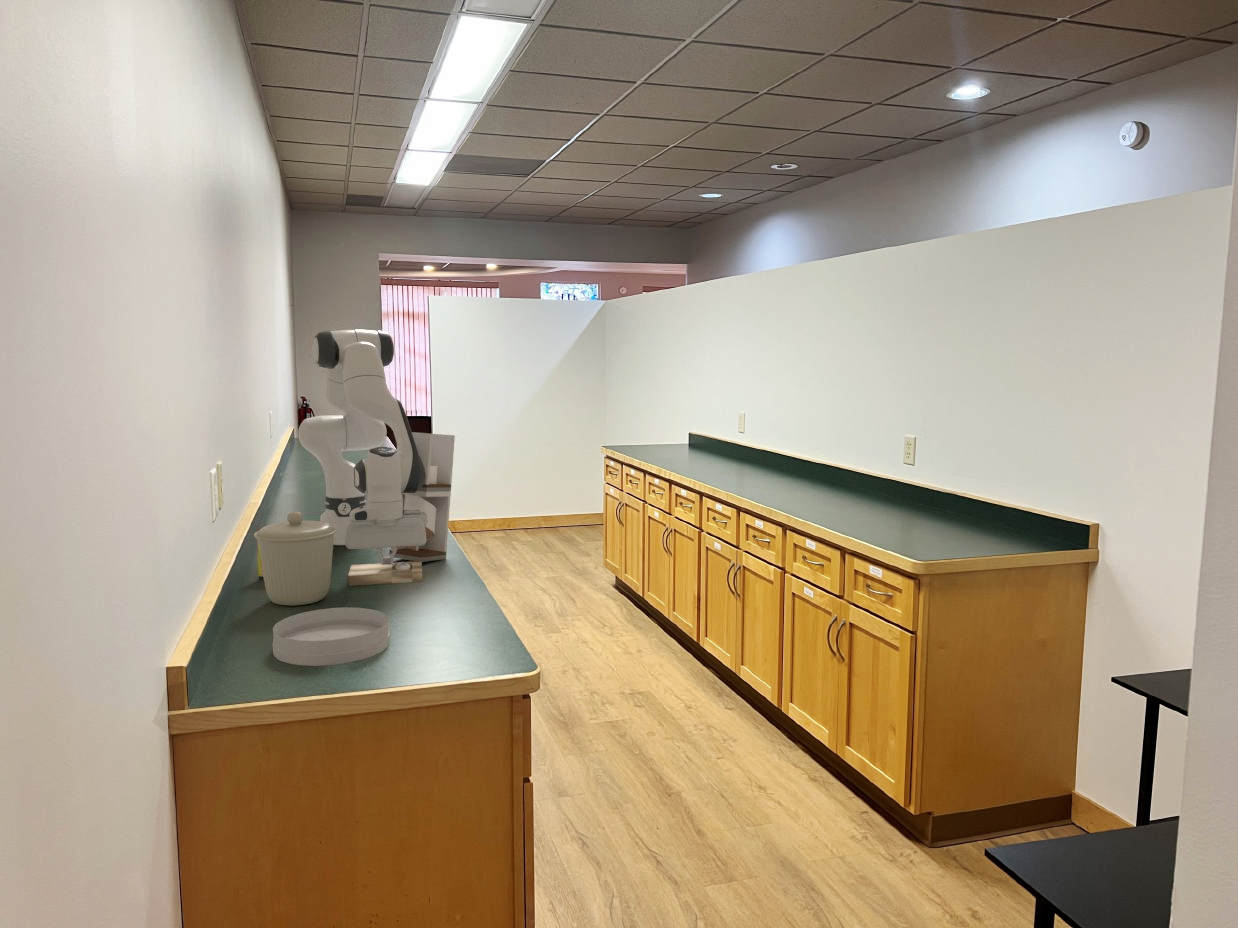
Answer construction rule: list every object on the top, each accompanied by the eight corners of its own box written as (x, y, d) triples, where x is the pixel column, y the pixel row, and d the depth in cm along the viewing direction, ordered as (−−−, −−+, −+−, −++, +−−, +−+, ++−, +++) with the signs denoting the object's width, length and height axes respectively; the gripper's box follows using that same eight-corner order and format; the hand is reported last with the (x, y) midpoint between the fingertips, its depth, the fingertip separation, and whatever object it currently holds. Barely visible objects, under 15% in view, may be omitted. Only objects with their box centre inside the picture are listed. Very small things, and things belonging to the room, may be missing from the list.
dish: (412, 646, 175) (411, 621, 174) (309, 676, 159) (308, 649, 158) (352, 623, 190) (351, 600, 189) (252, 648, 174) (250, 624, 173)
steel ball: (403, 577, 230) (391, 568, 229) (413, 565, 231) (401, 557, 230) (404, 582, 227) (392, 572, 225) (414, 569, 227) (402, 560, 226)
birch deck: (351, 574, 231) (351, 564, 231) (421, 570, 235) (421, 561, 235) (348, 585, 220) (348, 575, 219) (422, 581, 224) (422, 571, 223)
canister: (252, 613, 196) (247, 520, 193) (262, 592, 213) (258, 506, 210) (337, 608, 200) (334, 516, 198) (340, 587, 218) (337, 503, 215)
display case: (389, 556, 244) (398, 431, 244) (414, 553, 254) (422, 433, 253) (421, 561, 239) (430, 433, 239) (445, 558, 249) (454, 435, 248)
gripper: (426, 507, 231) (428, 559, 232) (345, 510, 226) (347, 563, 228) (427, 511, 224) (428, 564, 226) (343, 514, 220) (345, 568, 222)
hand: (387, 563), depth 227 cm, fingers closed
